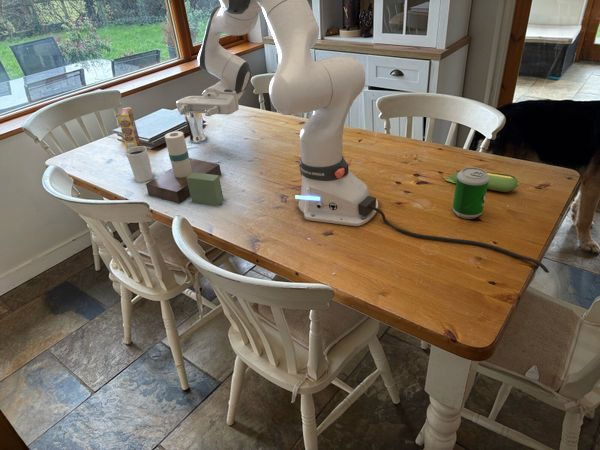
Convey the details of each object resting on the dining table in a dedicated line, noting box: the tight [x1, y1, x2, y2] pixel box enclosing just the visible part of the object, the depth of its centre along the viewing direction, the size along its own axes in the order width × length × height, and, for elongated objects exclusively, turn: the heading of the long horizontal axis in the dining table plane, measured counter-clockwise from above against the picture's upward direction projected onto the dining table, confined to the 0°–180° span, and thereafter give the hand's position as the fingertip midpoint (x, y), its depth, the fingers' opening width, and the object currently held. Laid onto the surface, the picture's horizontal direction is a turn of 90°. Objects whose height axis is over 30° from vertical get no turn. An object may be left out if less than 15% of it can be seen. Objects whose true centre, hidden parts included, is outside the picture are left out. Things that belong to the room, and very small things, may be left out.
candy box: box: [117, 106, 142, 150], centre depth 162 cm, size 9×4×15 cm, turn 13°
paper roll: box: [164, 130, 192, 178], centre depth 133 cm, size 13×6×13 cm
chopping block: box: [145, 157, 222, 204], centre depth 138 cm, size 13×20×4 cm, turn 150°
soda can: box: [452, 166, 489, 220], centre depth 111 cm, size 8×8×12 cm
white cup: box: [125, 146, 154, 183], centre depth 143 cm, size 7×7×10 cm
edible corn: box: [444, 170, 520, 193], centre depth 125 cm, size 5×20×5 cm, turn 62°
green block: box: [186, 172, 225, 207], centre depth 127 cm, size 4×9×8 cm, turn 70°
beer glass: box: [183, 112, 207, 144], centre depth 167 cm, size 7×7×15 cm
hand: (194, 113), depth 138 cm, fingers open, 8 cm apart
